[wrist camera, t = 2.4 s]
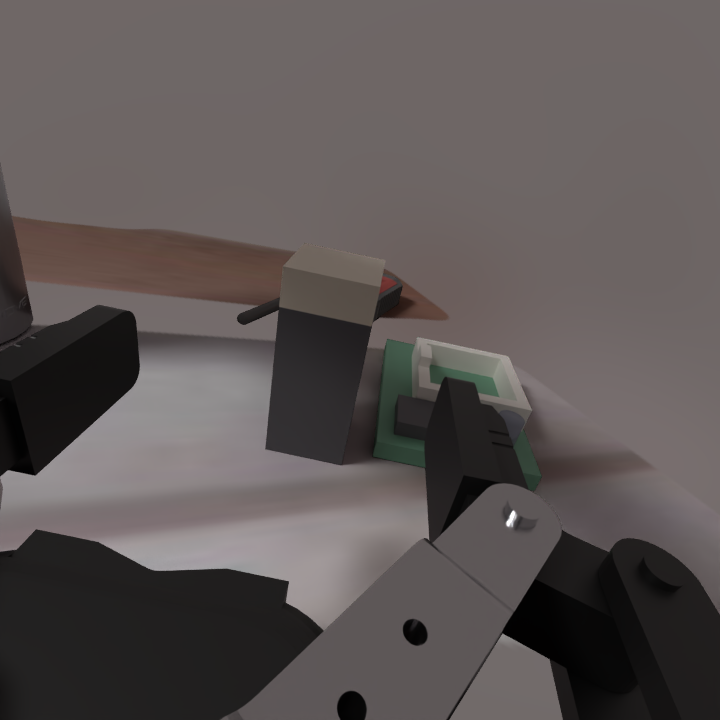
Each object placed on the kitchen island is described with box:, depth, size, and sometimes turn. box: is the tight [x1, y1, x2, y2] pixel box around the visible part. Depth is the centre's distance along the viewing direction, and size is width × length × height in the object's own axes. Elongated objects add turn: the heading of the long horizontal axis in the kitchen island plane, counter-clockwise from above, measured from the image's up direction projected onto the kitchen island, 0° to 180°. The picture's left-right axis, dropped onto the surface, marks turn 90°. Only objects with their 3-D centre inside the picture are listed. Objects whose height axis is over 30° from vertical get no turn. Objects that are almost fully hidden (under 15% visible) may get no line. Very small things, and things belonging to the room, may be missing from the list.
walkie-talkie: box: [237, 273, 403, 325], centre depth 42 cm, size 9×4×20 cm
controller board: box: [373, 337, 542, 491], centre depth 31 cm, size 10×14×4 cm
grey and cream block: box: [266, 243, 385, 465], centre depth 24 cm, size 4×4×11 cm
